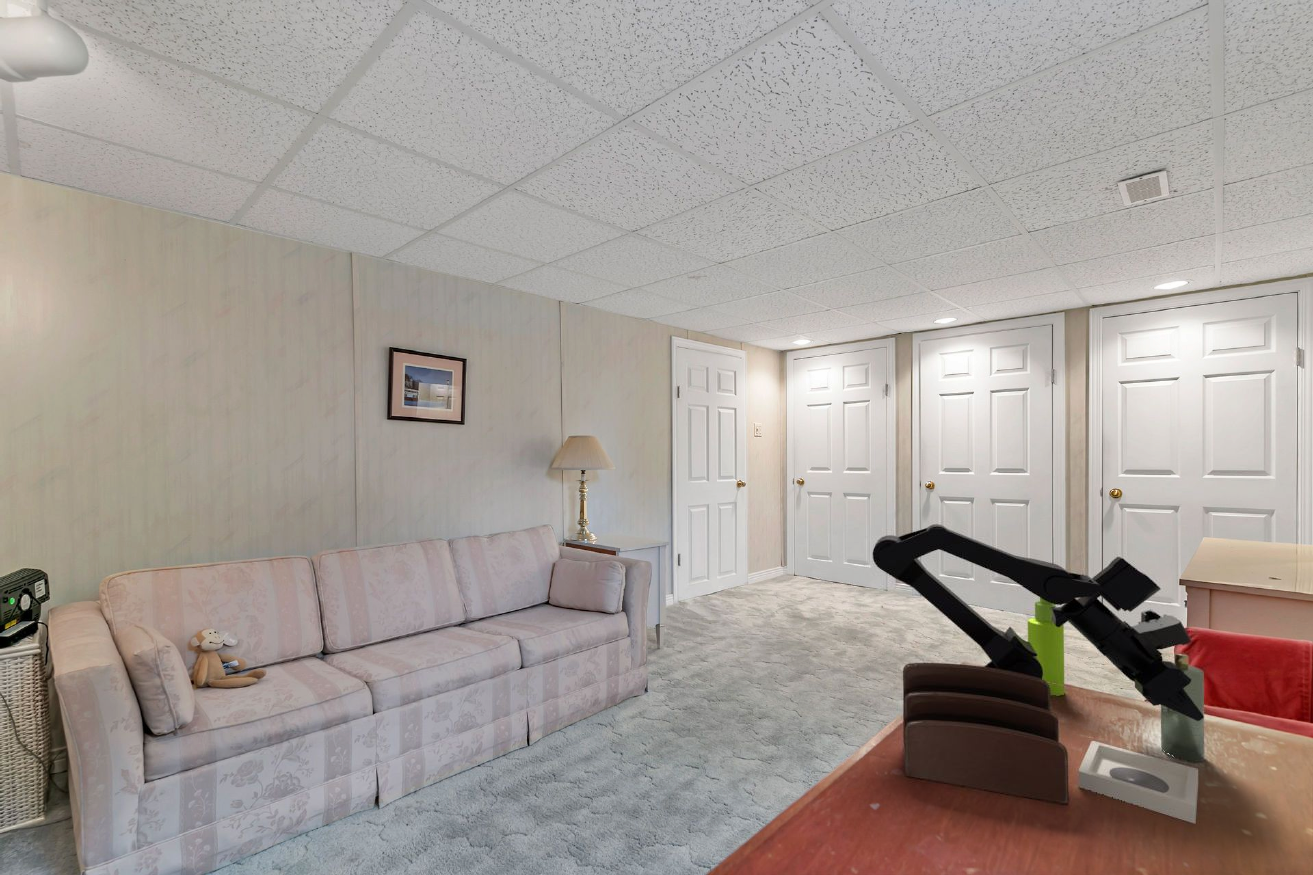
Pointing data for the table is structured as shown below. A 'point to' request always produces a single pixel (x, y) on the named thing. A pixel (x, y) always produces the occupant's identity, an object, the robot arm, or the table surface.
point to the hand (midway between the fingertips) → (1193, 711)
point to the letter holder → (983, 731)
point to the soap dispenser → (1048, 645)
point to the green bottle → (1185, 719)
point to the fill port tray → (1140, 780)
